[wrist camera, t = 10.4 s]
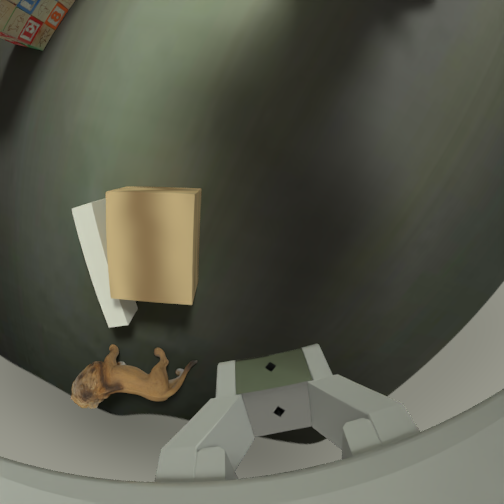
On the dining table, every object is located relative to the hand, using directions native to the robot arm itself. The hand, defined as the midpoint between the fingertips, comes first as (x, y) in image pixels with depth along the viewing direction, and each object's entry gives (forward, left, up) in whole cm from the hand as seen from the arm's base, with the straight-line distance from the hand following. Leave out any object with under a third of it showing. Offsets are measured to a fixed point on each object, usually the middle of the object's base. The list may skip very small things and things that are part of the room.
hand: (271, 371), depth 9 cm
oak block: (+9, 0, -24) cm, 26 cm away
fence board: (+15, +1, -24) cm, 28 cm away
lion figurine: (+16, +15, -24) cm, 33 cm away
